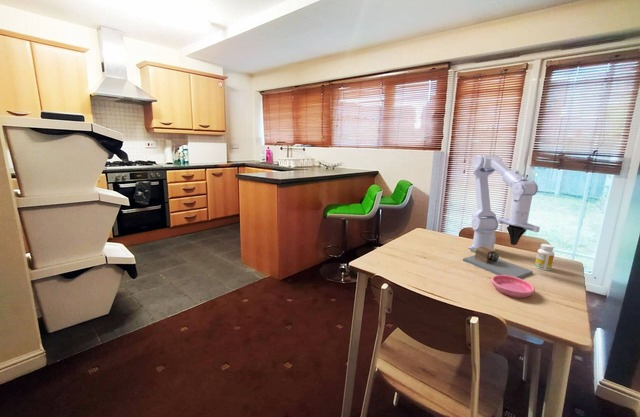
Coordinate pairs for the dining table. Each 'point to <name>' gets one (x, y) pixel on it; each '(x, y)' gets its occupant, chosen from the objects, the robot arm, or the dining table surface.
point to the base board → (500, 267)
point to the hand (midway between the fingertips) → (513, 244)
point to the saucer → (512, 286)
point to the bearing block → (484, 254)
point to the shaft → (493, 256)
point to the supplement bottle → (544, 257)
